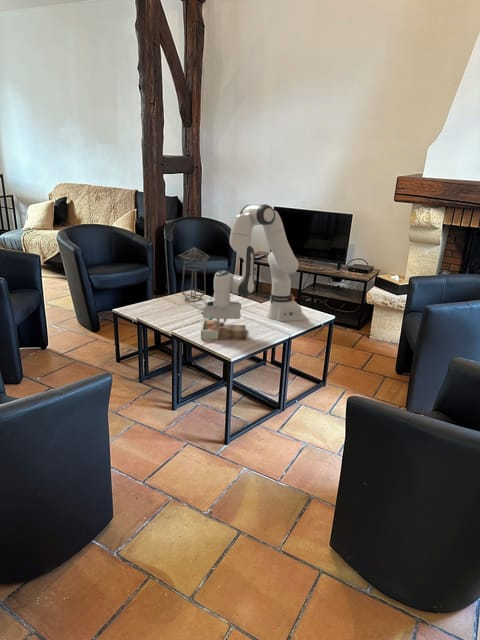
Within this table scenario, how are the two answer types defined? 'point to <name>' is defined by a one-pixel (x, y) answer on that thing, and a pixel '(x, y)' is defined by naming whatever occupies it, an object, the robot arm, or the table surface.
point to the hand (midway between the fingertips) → (221, 325)
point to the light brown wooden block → (210, 323)
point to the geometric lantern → (193, 270)
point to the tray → (209, 331)
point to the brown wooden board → (232, 332)
